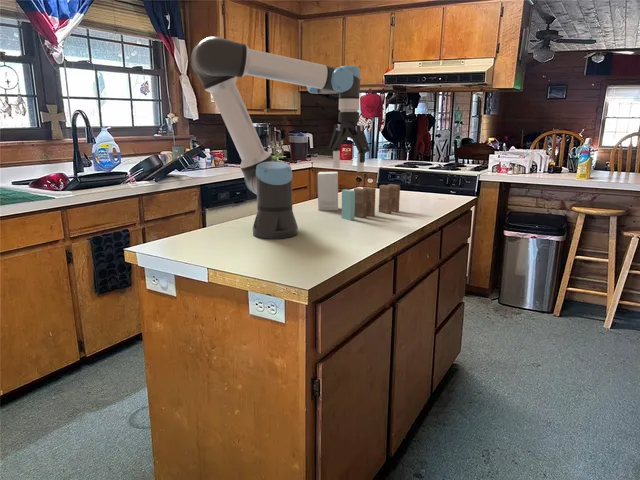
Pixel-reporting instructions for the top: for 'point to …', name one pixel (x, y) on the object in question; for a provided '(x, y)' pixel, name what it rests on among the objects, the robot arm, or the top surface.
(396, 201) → the domino
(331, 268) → the top surface
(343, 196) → the teal tile
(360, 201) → the domino
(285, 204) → the robot arm
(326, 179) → the skincare box
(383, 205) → the domino
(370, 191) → the domino
